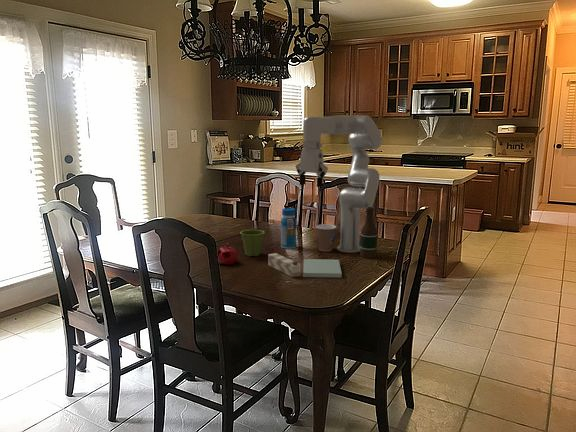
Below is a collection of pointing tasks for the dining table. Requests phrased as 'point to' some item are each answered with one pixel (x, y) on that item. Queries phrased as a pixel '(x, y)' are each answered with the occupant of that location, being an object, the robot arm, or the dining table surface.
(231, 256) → the pomegranate
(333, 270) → the pale green flat slab
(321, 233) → the coffee cup
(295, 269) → the beige patterned long block
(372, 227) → the beer bottle
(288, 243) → the beverage bottle
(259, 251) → the plant pot
